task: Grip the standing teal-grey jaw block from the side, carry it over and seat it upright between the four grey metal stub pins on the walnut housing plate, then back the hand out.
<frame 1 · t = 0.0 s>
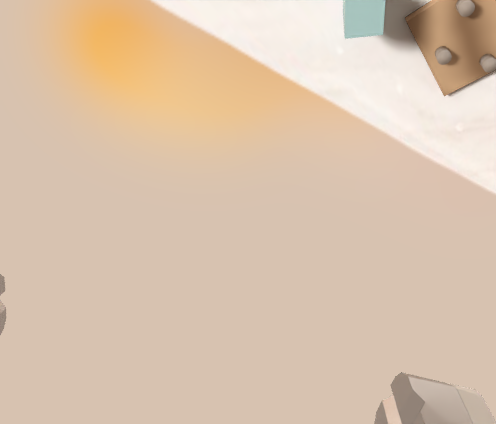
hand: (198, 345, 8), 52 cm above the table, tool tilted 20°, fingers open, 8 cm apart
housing: (472, 28, 50), on the table
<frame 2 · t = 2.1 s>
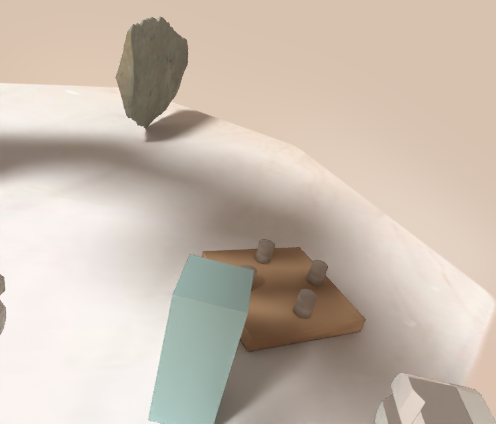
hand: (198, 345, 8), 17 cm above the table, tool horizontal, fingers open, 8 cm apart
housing: (276, 295, 39), on the table
rock: (146, 128, 78), on the table
jaw block: (186, 400, 27), on the table
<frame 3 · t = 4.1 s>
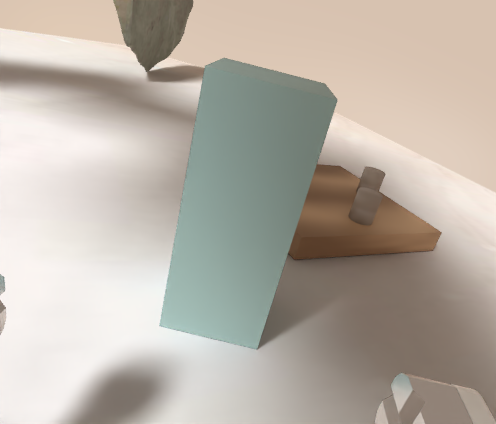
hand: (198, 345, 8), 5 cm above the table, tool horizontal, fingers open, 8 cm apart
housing: (319, 210, 30), on the table
rock: (148, 72, 69), on the table
jaw block: (216, 306, 18), on the table
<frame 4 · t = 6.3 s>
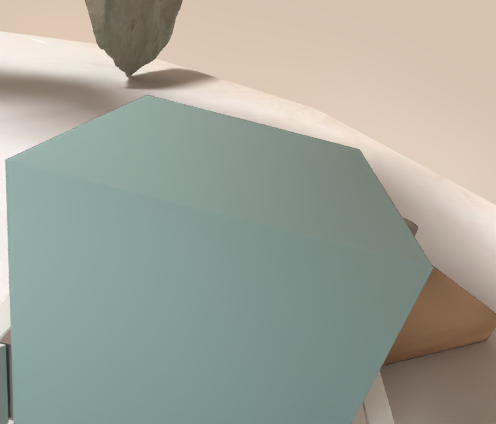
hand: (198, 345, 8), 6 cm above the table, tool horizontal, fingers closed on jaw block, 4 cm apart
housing: (329, 277, 22), on the table
rock: (130, 77, 61), on the table
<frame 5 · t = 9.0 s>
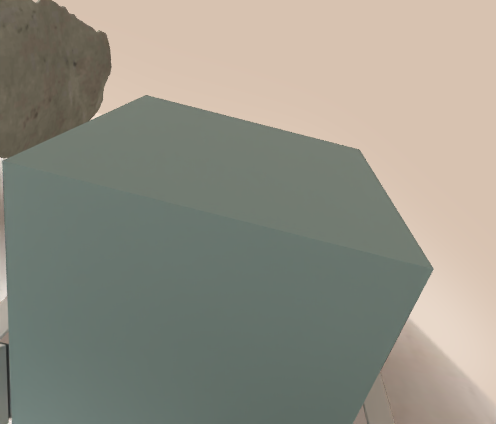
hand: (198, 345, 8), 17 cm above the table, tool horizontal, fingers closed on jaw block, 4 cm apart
rock: (44, 161, 54), on the table
when the fingers open (8 cm above the table, at t = 11.5 s): jaw block drops 1 cm, resting on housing.
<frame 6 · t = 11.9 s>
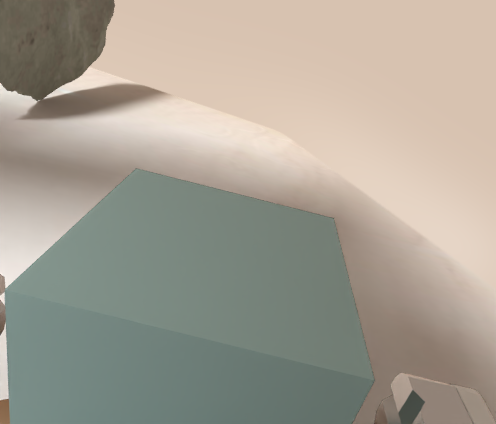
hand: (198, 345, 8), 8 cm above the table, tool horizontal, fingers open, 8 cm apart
rock: (42, 100, 50), on the table
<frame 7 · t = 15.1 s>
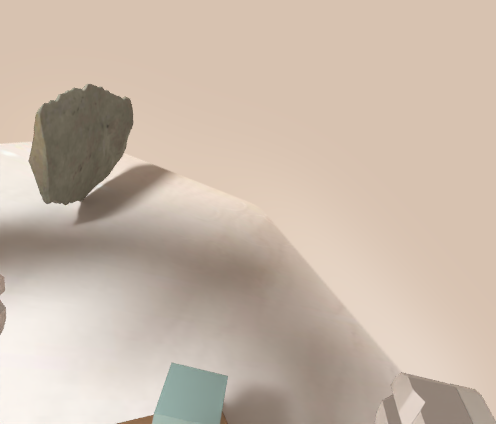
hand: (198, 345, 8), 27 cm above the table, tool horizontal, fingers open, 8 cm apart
rock: (83, 199, 69), on the table
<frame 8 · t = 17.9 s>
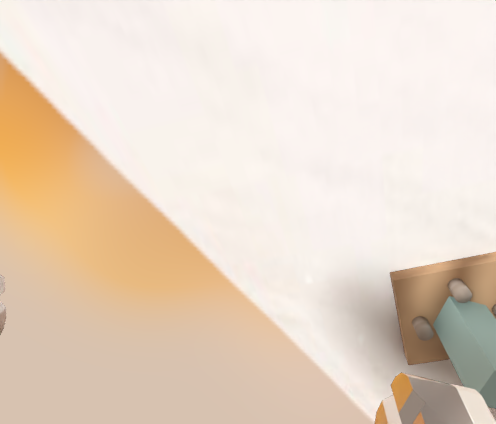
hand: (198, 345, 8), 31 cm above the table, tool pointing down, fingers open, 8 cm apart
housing: (453, 306, 44), on the table
jaw block: (458, 315, 42), point 1 cm above the table, touching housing
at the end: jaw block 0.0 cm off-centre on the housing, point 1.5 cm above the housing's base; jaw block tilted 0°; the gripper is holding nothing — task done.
